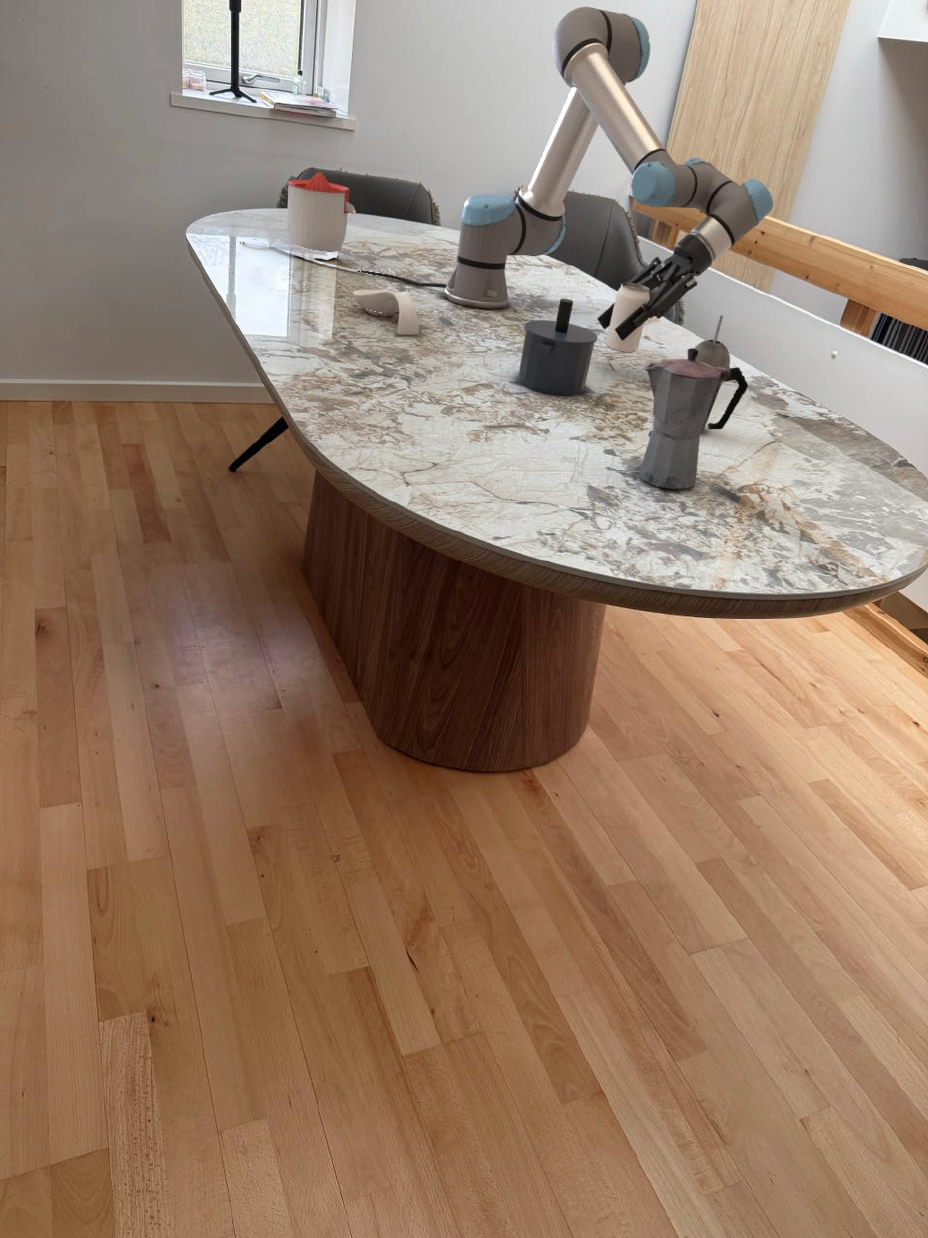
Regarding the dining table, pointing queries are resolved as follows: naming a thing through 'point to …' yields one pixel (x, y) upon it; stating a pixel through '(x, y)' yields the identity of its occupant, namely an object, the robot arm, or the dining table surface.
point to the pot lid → (561, 328)
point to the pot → (554, 366)
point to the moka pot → (682, 417)
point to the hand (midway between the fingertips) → (609, 329)
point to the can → (626, 316)
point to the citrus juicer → (318, 213)
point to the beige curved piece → (390, 307)
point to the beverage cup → (713, 359)
